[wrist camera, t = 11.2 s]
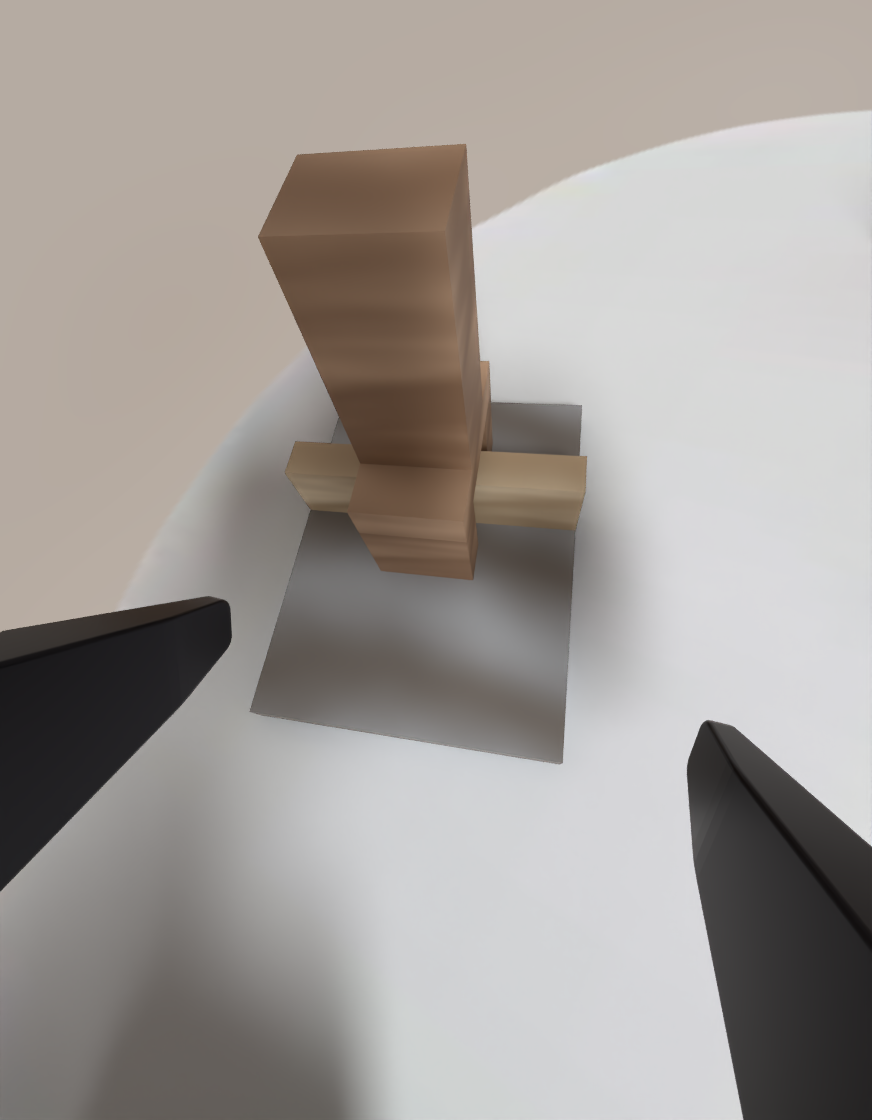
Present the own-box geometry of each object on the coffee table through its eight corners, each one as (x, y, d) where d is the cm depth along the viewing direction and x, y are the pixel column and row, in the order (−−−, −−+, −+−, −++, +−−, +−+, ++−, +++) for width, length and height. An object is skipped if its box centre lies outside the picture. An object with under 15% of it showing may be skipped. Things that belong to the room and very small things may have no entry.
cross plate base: (559, 764, 18) (572, 757, 14) (260, 715, 20) (207, 699, 17) (579, 419, 24) (591, 355, 21) (350, 410, 27) (325, 351, 23)
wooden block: (473, 580, 20) (427, 302, 9) (380, 571, 21) (226, 303, 10) (492, 444, 23) (478, 96, 12) (410, 439, 24) (319, 108, 12)
